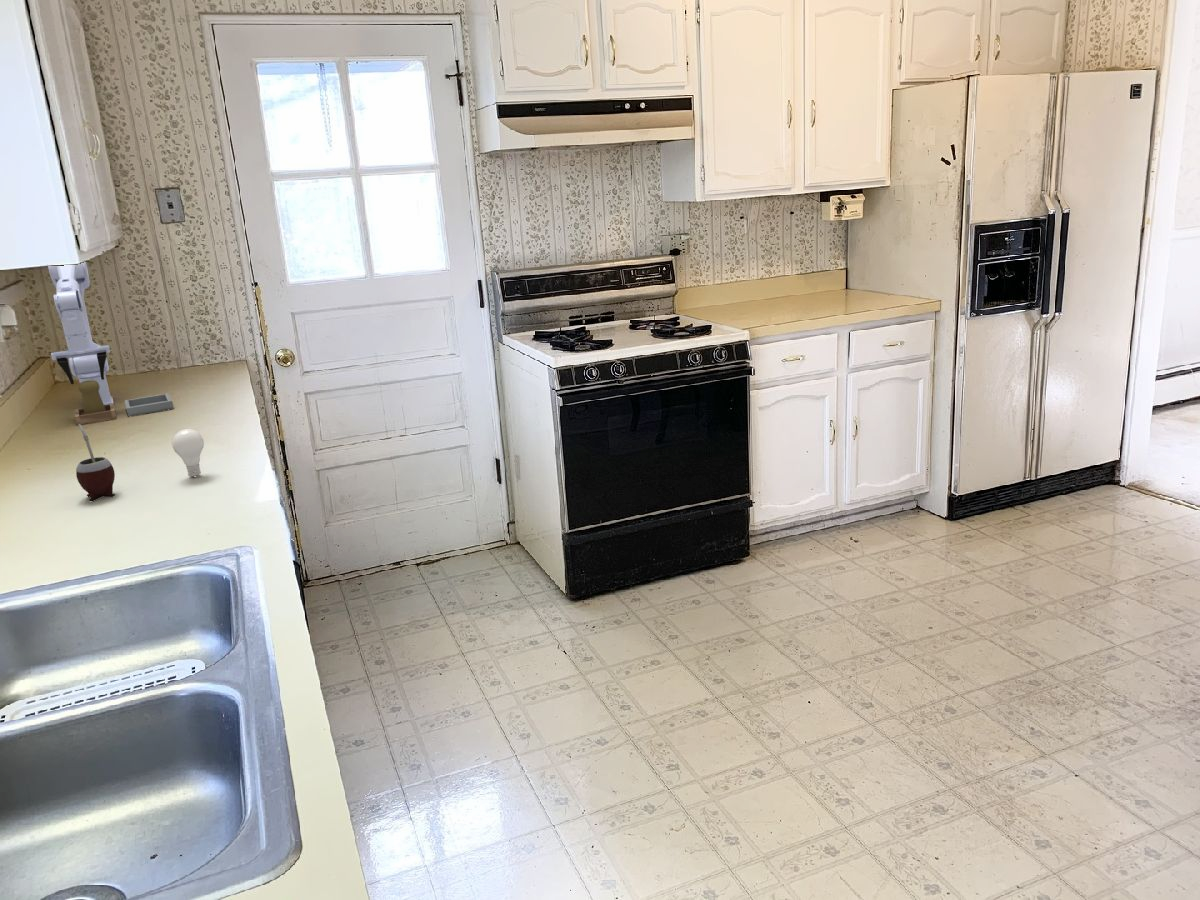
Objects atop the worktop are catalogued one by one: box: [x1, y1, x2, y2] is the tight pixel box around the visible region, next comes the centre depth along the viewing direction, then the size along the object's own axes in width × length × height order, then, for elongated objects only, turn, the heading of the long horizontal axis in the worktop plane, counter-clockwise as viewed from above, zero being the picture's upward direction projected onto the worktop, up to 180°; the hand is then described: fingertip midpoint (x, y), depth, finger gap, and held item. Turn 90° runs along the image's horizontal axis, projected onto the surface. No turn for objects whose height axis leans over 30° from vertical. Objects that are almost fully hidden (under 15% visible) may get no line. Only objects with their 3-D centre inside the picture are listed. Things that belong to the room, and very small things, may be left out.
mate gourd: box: [75, 424, 116, 502], centre depth 192 cm, size 8×8×15 cm
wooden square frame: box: [74, 403, 117, 426], centre depth 259 cm, size 10×10×2 cm
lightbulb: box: [171, 428, 205, 478], centre depth 201 cm, size 6×6×11 cm
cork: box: [77, 380, 106, 415], centre depth 258 cm, size 6×6×11 cm
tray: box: [124, 392, 174, 417], centre depth 267 cm, size 12×12×2 cm
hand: (87, 381), depth 258 cm, fingers open, 7 cm apart
